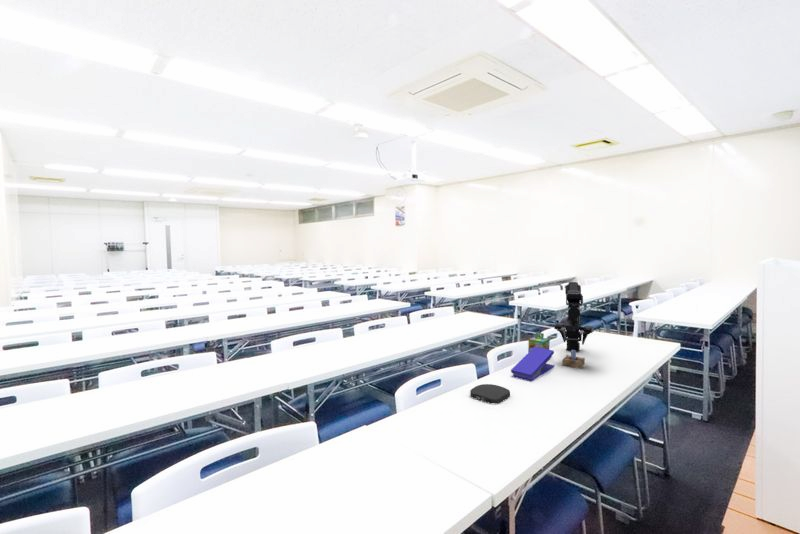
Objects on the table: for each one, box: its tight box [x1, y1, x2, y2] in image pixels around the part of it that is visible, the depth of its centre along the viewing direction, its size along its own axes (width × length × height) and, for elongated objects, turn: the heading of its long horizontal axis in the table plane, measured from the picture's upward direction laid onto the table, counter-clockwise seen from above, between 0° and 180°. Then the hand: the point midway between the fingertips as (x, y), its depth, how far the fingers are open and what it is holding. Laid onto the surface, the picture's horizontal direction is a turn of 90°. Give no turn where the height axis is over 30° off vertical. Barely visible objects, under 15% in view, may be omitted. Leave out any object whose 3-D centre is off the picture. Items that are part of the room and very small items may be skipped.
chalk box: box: [527, 332, 551, 354], centre depth 221 cm, size 9×9×15 cm
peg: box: [570, 350, 577, 360], centre depth 209 cm, size 2×2×8 cm
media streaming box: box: [469, 383, 511, 404], centre depth 171 cm, size 15×15×3 cm
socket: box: [561, 354, 586, 370], centre depth 209 cm, size 9×9×4 cm
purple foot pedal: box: [510, 347, 555, 382], centre depth 200 cm, size 12×28×10 cm, turn 137°
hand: (573, 343), depth 208 cm, fingers open, 9 cm apart
